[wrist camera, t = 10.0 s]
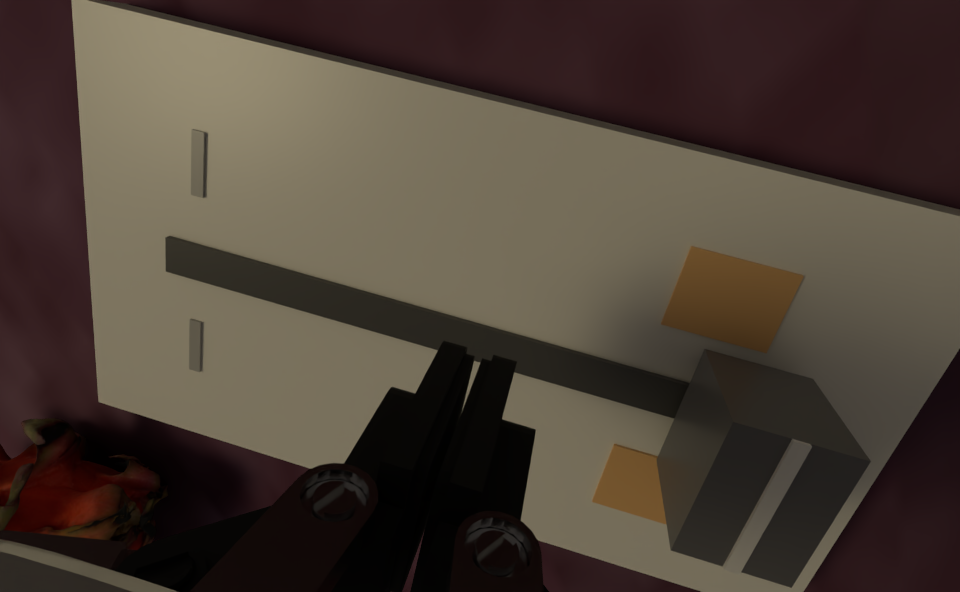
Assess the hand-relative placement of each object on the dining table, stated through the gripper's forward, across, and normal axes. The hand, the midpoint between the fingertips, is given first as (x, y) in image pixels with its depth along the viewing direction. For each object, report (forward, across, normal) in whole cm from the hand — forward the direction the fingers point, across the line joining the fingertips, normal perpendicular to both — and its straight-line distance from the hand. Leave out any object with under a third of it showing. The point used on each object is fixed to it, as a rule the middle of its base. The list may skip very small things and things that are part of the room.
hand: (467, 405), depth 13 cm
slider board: (+7, +1, +2) cm, 7 cm away
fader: (+5, -7, +1) cm, 9 cm away
